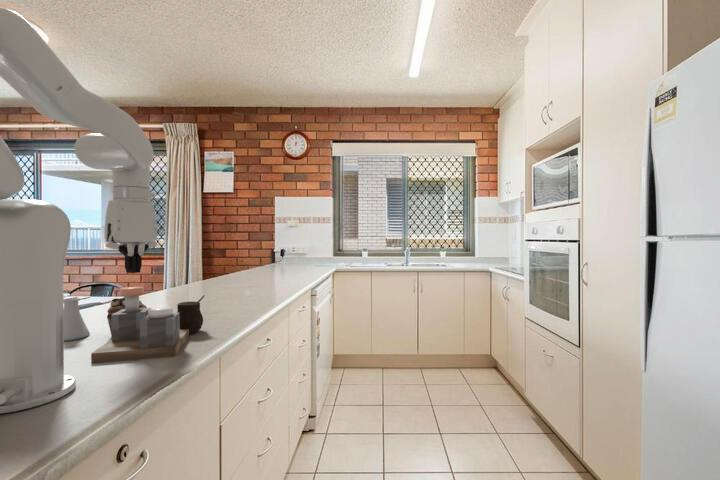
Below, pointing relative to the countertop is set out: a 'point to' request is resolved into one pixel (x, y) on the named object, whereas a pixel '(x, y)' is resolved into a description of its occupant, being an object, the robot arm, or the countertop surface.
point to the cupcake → (118, 308)
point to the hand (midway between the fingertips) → (133, 272)
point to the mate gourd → (190, 316)
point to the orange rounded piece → (131, 298)
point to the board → (141, 337)
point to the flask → (73, 320)
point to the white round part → (160, 312)
